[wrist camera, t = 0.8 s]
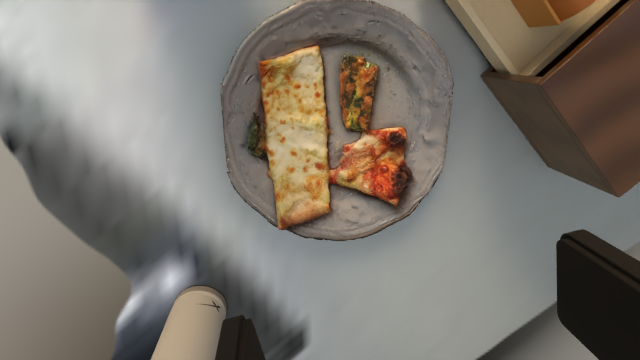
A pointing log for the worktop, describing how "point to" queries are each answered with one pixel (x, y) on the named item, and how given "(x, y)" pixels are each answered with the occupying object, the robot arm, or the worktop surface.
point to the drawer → (521, 33)
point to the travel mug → (192, 326)
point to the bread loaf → (549, 10)
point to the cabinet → (584, 103)
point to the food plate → (336, 118)
